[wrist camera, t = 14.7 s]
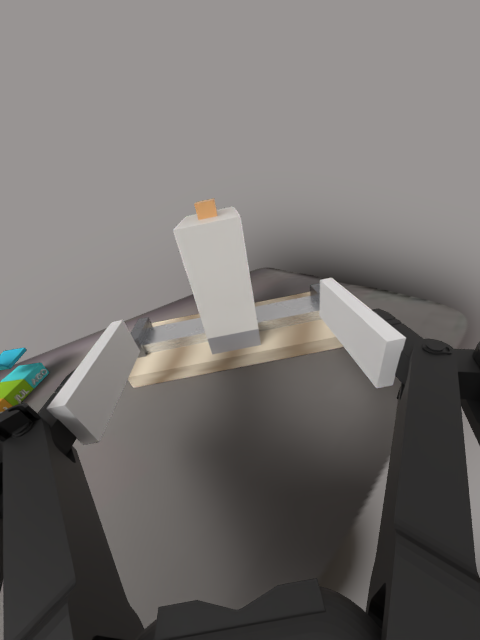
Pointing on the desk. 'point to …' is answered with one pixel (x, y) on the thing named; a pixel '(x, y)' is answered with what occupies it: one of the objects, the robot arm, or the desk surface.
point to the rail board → (203, 361)
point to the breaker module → (219, 276)
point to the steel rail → (194, 332)
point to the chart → (18, 378)
